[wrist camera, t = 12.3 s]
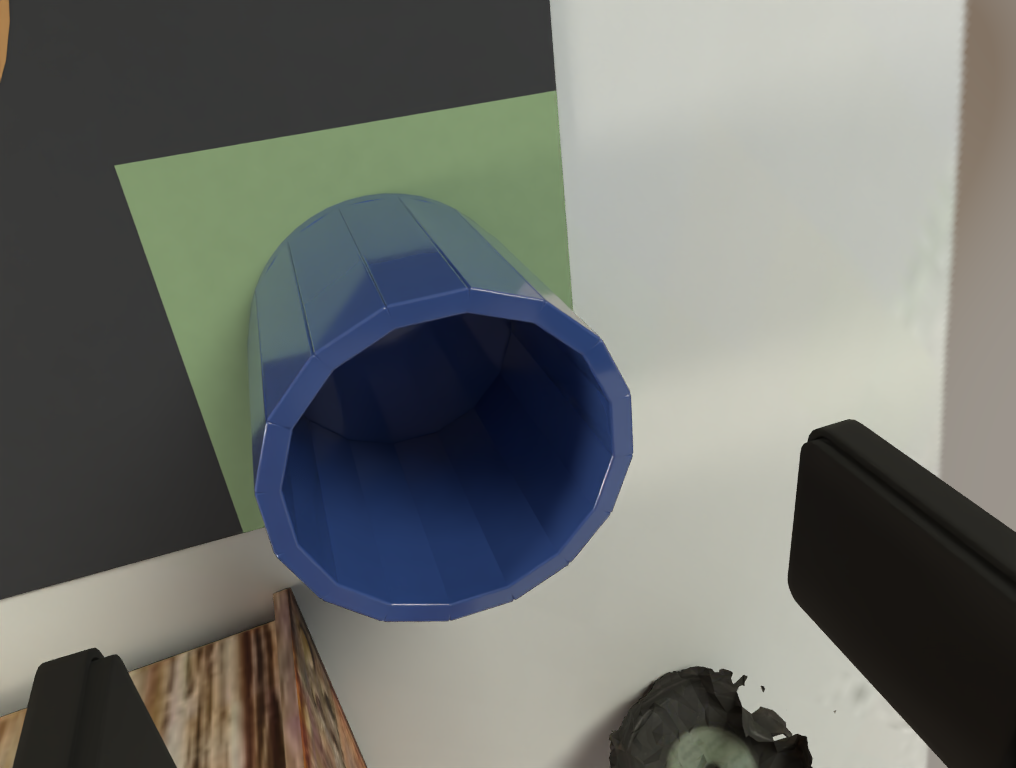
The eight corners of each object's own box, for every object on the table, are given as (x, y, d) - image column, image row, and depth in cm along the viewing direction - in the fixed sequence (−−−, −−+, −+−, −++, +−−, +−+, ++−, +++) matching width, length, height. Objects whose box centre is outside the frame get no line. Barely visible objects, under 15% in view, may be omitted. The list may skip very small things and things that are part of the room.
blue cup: (287, 472, 21) (311, 666, 15) (212, 223, 18) (203, 346, 12) (530, 409, 22) (638, 562, 16) (503, 168, 19) (626, 252, 13)
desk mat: (-265, 670, 19) (-266, 673, 19) (-1505, -784, 8) (-1518, -790, 8) (581, 438, 24) (582, 439, 23) (497, -674, 13) (498, -677, 13)
